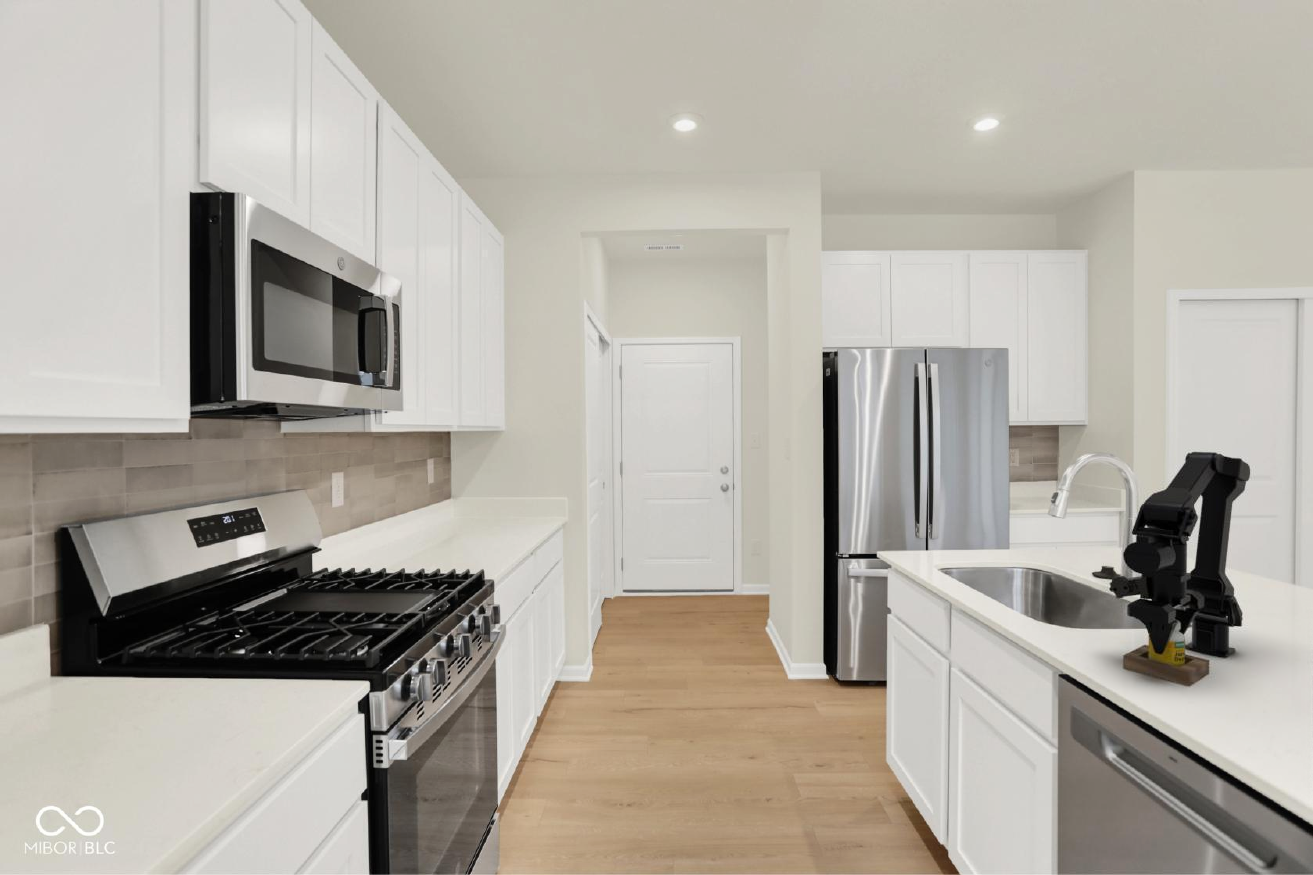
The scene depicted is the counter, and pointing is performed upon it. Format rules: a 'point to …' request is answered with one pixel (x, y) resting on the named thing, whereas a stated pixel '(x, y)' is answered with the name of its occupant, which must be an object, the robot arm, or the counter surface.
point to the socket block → (1166, 667)
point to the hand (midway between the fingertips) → (1166, 649)
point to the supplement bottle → (1171, 649)
